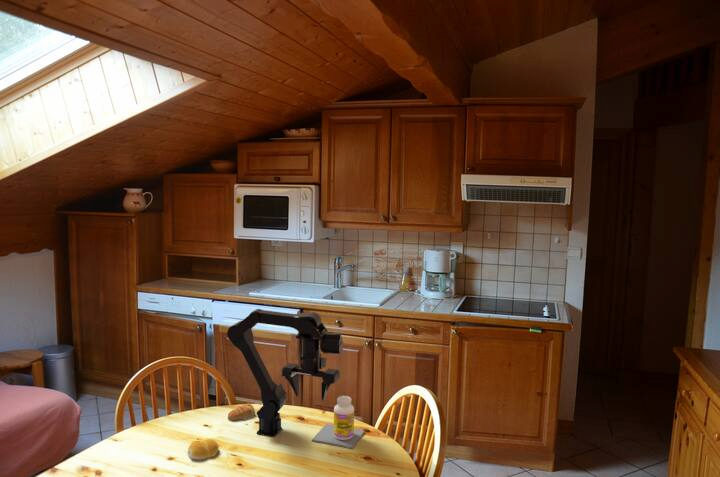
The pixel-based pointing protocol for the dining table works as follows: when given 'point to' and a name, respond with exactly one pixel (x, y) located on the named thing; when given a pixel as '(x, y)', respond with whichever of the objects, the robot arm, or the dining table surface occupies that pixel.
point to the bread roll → (202, 449)
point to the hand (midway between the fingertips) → (310, 398)
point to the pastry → (242, 412)
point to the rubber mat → (328, 438)
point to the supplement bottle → (343, 418)
